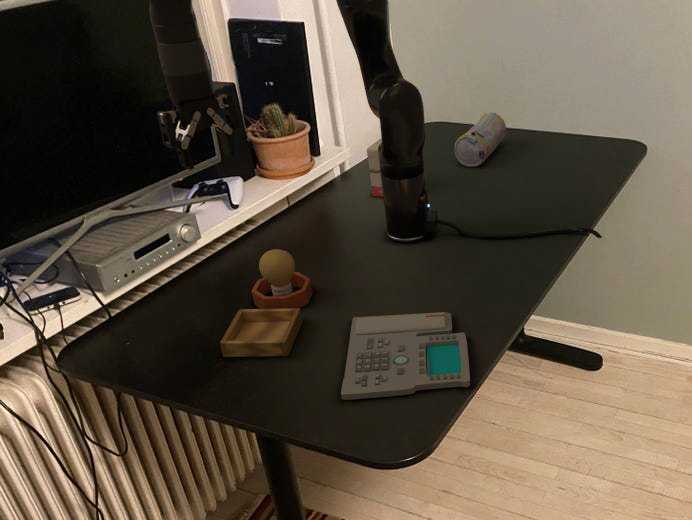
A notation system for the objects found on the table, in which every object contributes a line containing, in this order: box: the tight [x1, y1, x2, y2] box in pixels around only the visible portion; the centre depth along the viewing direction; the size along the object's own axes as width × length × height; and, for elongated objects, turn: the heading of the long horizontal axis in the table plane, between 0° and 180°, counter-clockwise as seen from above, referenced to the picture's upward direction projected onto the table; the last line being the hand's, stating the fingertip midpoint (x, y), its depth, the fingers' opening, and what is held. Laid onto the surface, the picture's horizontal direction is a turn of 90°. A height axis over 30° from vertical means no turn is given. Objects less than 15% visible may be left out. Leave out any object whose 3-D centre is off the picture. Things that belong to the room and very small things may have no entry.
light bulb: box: [258, 248, 296, 296], centre depth 136 cm, size 6×6×10 cm
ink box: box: [366, 138, 383, 198], centre depth 179 cm, size 9×5×12 cm, turn 161°
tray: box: [219, 307, 304, 358], centre depth 126 cm, size 11×11×3 cm
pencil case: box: [453, 112, 507, 168], centre depth 198 cm, size 21×9×10 cm, turn 160°
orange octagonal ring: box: [251, 271, 314, 309], centre depth 138 cm, size 10×10×3 cm
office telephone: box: [340, 311, 471, 401], centre depth 121 cm, size 23×3×20 cm
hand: (209, 161), depth 132 cm, fingers open, 8 cm apart
